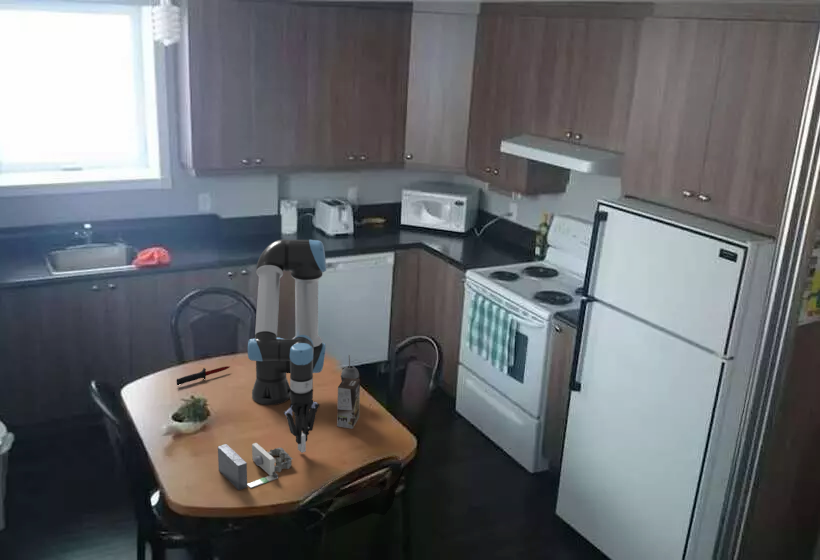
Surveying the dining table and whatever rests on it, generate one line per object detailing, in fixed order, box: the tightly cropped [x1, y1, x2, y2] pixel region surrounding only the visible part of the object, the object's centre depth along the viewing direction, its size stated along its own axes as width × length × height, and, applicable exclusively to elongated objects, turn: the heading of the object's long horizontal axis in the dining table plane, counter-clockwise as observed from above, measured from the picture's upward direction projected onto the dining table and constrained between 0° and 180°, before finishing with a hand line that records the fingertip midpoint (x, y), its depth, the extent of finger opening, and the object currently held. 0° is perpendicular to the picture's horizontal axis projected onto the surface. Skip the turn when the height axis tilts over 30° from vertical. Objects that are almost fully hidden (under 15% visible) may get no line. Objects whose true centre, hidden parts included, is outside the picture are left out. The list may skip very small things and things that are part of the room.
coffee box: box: [336, 378, 361, 430], centre depth 292 cm, size 9×6×16 cm
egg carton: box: [264, 447, 294, 473], centre depth 265 cm, size 11×8×4 cm
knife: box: [176, 366, 231, 386], centre depth 321 cm, size 24×2×5 cm, turn 132°
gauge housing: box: [217, 443, 279, 491], centre depth 257 cm, size 15×14×9 cm
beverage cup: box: [340, 354, 360, 381], centre depth 305 cm, size 7×7×20 cm
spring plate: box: [251, 442, 279, 478], centre depth 261 cm, size 14×3×6 cm, turn 40°
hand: (301, 450), depth 272 cm, fingers closed
